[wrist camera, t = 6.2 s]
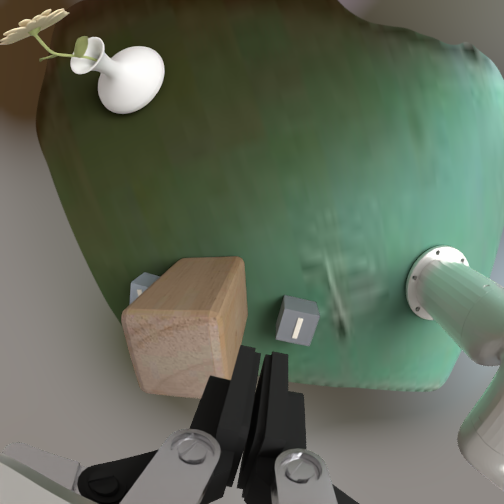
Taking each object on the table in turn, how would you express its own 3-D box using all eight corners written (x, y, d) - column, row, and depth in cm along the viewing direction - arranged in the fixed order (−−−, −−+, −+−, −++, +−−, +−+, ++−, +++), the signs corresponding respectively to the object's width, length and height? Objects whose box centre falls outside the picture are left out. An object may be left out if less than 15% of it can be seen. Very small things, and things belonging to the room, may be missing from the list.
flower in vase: (178, 53, 37) (94, -33, 13) (154, 121, 40) (39, 81, 16) (110, 48, 37) (11, -9, 13) (88, 109, 40) (-29, 84, 16)
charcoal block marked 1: (315, 301, 45) (320, 316, 40) (306, 329, 46) (309, 346, 41) (284, 294, 45) (284, 309, 40) (275, 323, 47) (275, 340, 42)
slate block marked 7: (173, 279, 46) (161, 292, 41) (169, 307, 47) (158, 322, 42) (144, 271, 46) (130, 282, 41) (141, 299, 48) (128, 312, 43)
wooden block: (248, 317, 47) (230, 404, 27) (186, 316, 47) (138, 395, 28) (244, 254, 44) (219, 315, 25) (178, 256, 45) (114, 312, 26)
